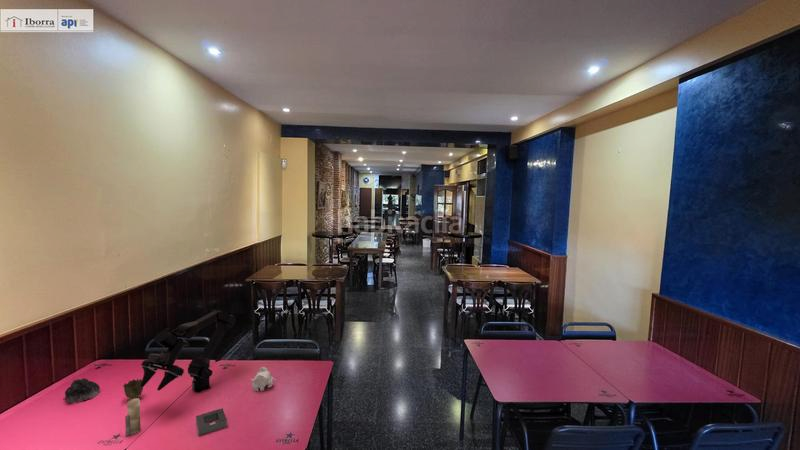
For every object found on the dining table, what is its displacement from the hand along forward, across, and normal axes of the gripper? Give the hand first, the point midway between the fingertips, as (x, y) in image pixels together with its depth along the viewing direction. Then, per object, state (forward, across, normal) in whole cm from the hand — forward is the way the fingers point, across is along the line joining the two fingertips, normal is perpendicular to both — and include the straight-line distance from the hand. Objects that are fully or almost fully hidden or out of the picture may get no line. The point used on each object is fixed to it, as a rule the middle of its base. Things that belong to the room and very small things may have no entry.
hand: (149, 388), depth 147 cm
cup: (+4, -21, +15) cm, 26 cm away
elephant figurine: (-15, +28, +35) cm, 47 cm away
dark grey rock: (+8, -46, +11) cm, 48 cm away
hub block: (+6, +27, +13) cm, 31 cm away
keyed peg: (+15, +2, +4) cm, 16 cm away
